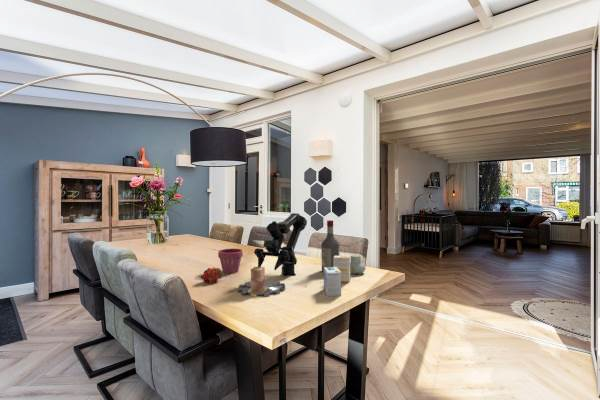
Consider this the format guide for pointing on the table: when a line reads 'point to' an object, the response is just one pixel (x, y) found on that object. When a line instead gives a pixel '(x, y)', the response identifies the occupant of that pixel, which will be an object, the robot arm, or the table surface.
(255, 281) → the link block
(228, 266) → the plant pot
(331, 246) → the liquor
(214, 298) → the table surface
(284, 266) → the robot arm
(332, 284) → the light bulb box
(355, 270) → the air freshener
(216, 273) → the dragon fruit
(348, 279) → the supplement box
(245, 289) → the timing wheel
